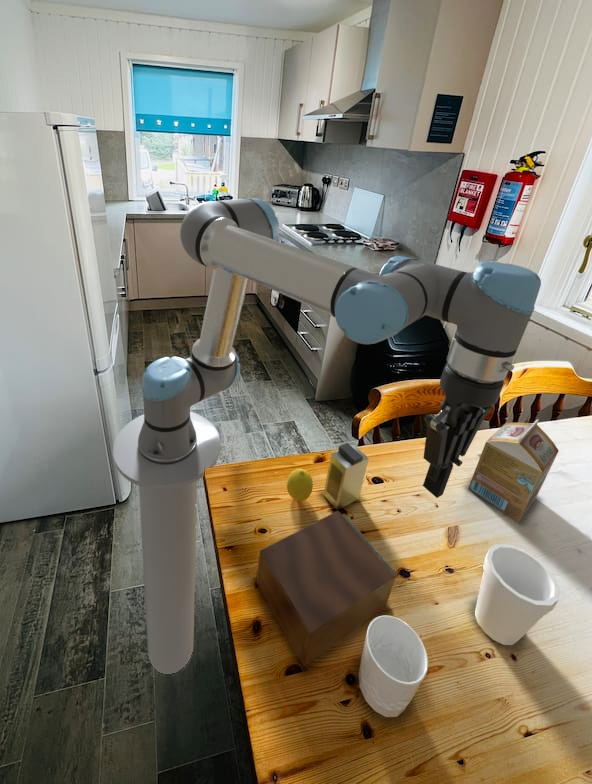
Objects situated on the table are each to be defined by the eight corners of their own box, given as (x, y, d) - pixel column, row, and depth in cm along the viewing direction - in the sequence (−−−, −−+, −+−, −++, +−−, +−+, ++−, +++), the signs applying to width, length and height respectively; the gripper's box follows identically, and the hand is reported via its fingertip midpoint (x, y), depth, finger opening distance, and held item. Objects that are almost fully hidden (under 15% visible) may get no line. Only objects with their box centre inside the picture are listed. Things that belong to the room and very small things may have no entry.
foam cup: (507, 595, 70) (532, 545, 65) (543, 658, 62) (576, 606, 57) (454, 592, 70) (475, 542, 65) (483, 654, 62) (510, 603, 57)
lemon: (287, 509, 85) (291, 481, 81) (283, 487, 90) (287, 461, 87) (312, 509, 85) (317, 481, 82) (307, 488, 90) (311, 461, 87)
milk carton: (486, 468, 98) (511, 406, 91) (535, 498, 91) (567, 432, 83) (468, 488, 92) (493, 423, 85) (519, 521, 85) (551, 453, 77)
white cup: (380, 644, 63) (393, 605, 59) (422, 702, 56) (441, 663, 52) (342, 672, 59) (354, 632, 55) (384, 738, 53) (400, 698, 49)
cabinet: (331, 541, 78) (338, 510, 75) (385, 608, 67) (395, 576, 64) (256, 582, 70) (259, 550, 67) (303, 667, 59) (311, 633, 56)
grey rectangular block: (322, 494, 88) (331, 449, 83) (344, 484, 92) (354, 439, 86) (336, 510, 85) (347, 464, 80) (359, 499, 88) (370, 453, 83)
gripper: (472, 396, 51) (426, 523, 60) (527, 373, 57) (477, 493, 66) (422, 367, 57) (387, 487, 66) (476, 349, 63) (437, 462, 72)
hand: (432, 490), depth 66 cm, fingers closed
